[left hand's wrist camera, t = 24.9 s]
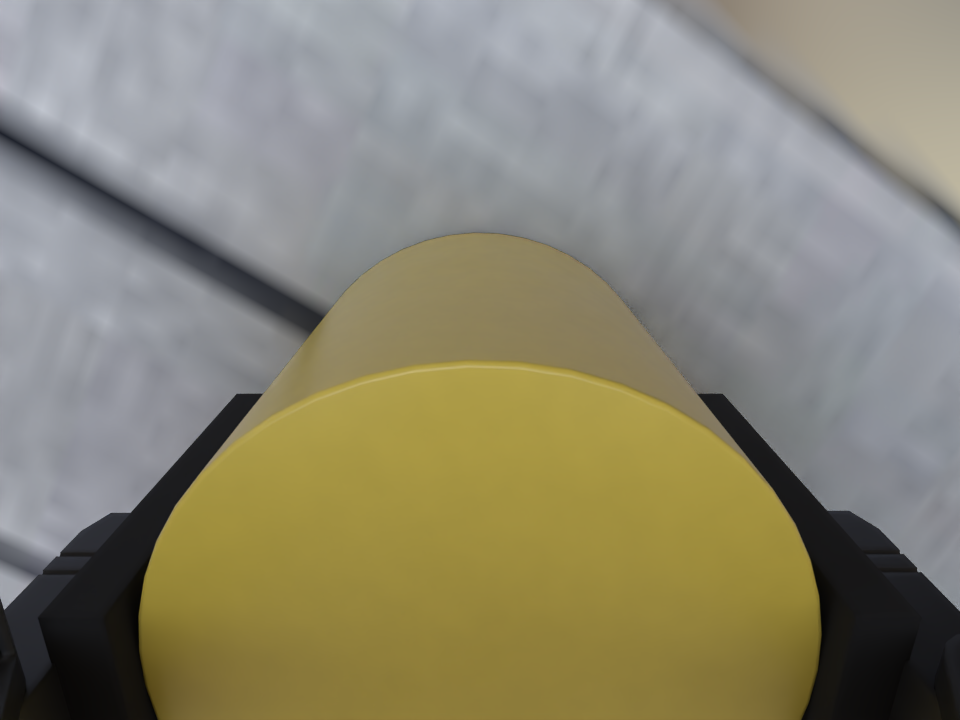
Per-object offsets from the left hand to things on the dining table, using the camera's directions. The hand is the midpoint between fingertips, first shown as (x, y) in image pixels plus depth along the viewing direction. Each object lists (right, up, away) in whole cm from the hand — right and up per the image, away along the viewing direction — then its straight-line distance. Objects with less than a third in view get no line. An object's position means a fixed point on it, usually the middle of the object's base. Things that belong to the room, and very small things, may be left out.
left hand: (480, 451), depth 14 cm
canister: (0, +1, +2) cm, 2 cm away
